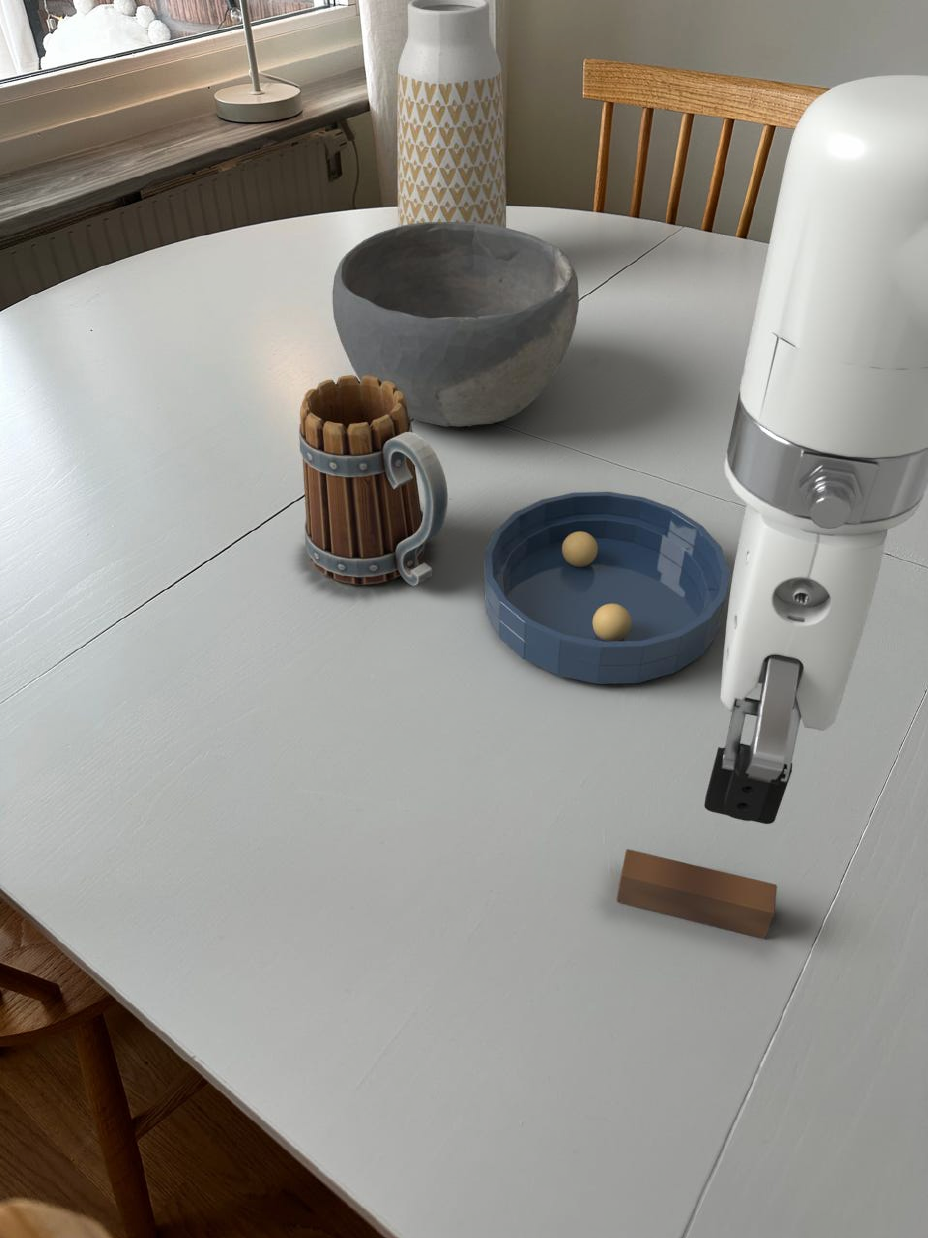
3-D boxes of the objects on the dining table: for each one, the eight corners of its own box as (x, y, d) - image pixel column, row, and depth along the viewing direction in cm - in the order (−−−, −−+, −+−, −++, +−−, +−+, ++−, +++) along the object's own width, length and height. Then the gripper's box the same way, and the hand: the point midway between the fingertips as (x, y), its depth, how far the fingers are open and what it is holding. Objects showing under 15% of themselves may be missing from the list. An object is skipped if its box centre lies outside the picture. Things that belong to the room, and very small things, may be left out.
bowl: (581, 463, 96) (593, 319, 86) (333, 466, 96) (315, 322, 86) (561, 344, 114) (569, 214, 104) (352, 347, 114) (340, 217, 104)
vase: (394, 256, 133) (379, -8, 112) (493, 248, 135) (496, -13, 114) (408, 299, 123) (394, 19, 102) (515, 290, 125) (523, 12, 104)
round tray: (730, 553, 85) (739, 512, 82) (705, 711, 72) (715, 669, 69) (517, 517, 90) (518, 476, 87) (456, 660, 76) (455, 618, 73)
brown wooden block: (767, 911, 60) (777, 884, 58) (764, 939, 59) (774, 913, 57) (621, 875, 62) (626, 848, 60) (616, 902, 61) (620, 875, 59)
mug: (283, 547, 87) (258, 397, 77) (377, 500, 92) (365, 353, 82) (393, 638, 78) (380, 482, 68) (490, 580, 83) (492, 427, 73)
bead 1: (601, 551, 81) (570, 532, 81) (582, 578, 82) (552, 560, 82) (606, 538, 83) (577, 519, 83) (588, 564, 85) (559, 546, 85)
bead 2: (617, 647, 78) (644, 631, 76) (592, 649, 76) (619, 632, 74) (604, 613, 79) (630, 596, 77) (579, 614, 77) (605, 596, 75)
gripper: (947, 610, 31) (818, 902, 42) (923, 354, 43) (828, 636, 54) (705, 568, 32) (645, 860, 44) (748, 333, 44) (692, 611, 56)
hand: (747, 736), depth 49 cm, fingers open, 9 cm apart
